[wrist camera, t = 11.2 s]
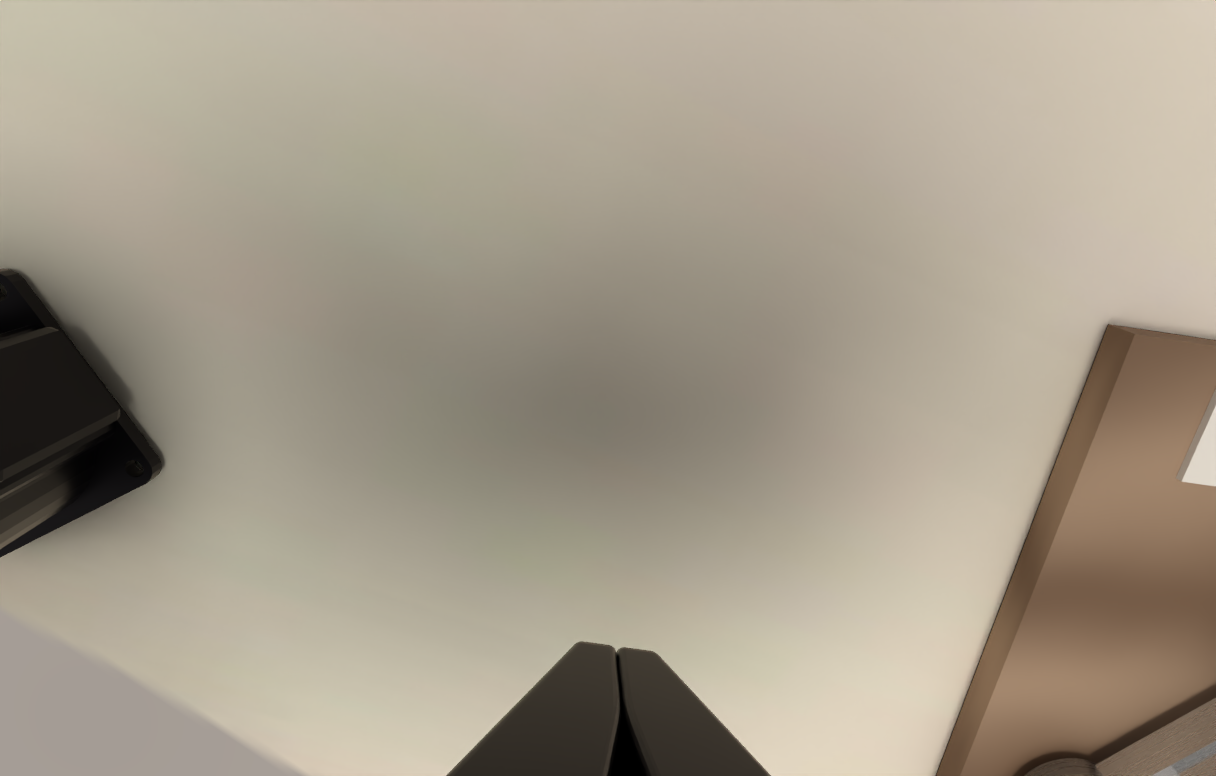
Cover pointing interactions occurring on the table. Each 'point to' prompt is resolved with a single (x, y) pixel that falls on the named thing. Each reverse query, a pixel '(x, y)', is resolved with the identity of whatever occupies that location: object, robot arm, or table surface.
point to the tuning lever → (1154, 752)
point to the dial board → (1108, 572)
